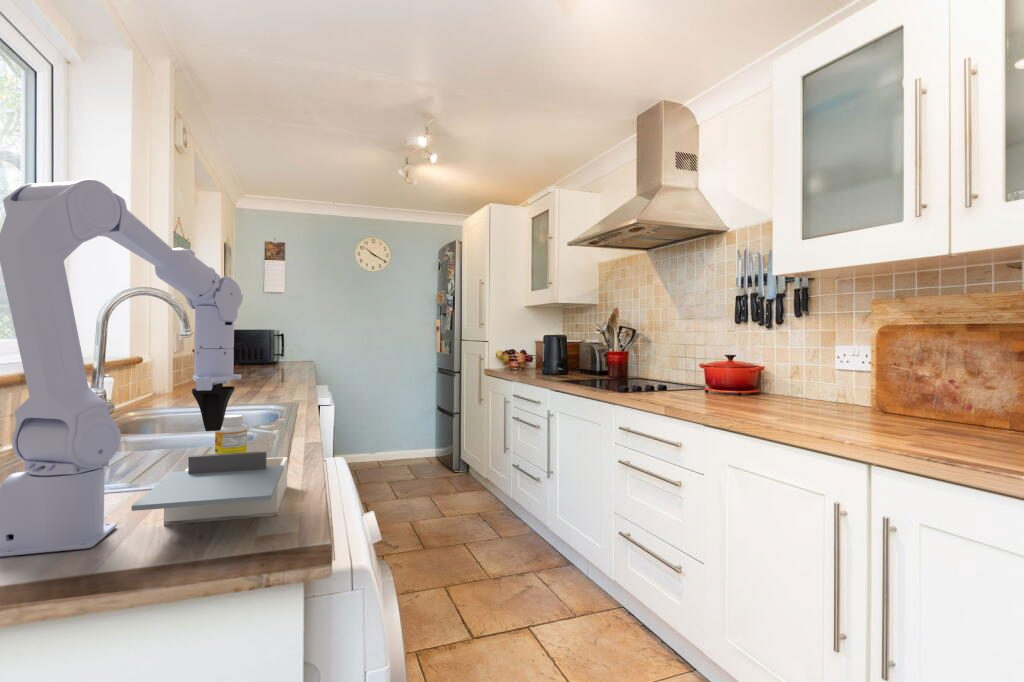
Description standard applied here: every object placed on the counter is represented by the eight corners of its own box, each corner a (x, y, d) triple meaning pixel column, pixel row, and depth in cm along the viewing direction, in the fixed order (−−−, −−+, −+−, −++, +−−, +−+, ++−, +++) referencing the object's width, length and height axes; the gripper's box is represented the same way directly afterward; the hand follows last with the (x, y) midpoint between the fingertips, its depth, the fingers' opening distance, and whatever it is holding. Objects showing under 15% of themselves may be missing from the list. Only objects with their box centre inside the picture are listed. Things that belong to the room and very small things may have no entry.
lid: (131, 510, 60) (131, 484, 60) (173, 475, 76) (174, 455, 76) (270, 500, 65) (271, 475, 65) (283, 469, 81) (283, 449, 81)
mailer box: (163, 525, 71) (164, 488, 71) (194, 492, 86) (194, 462, 86) (277, 515, 75) (277, 480, 75) (287, 486, 90) (287, 457, 90)
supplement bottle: (218, 465, 105) (218, 414, 105) (249, 464, 106) (249, 413, 106) (211, 472, 99) (212, 418, 100) (244, 470, 101) (244, 417, 101)
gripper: (233, 349, 82) (232, 436, 82) (247, 348, 96) (247, 422, 96) (181, 349, 80) (180, 438, 80) (203, 348, 94) (203, 424, 94)
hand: (213, 430), depth 88 cm, fingers closed
